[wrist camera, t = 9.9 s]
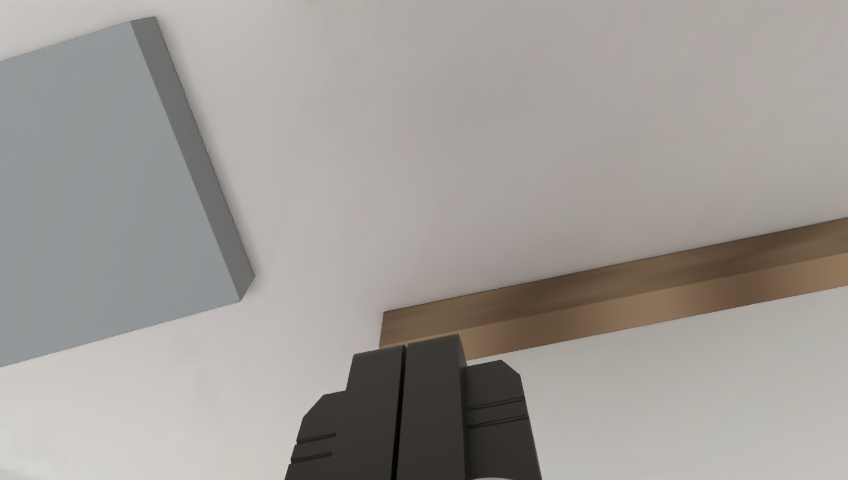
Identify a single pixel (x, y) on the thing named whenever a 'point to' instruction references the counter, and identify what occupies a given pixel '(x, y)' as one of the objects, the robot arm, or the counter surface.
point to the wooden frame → (632, 293)
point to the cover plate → (106, 196)
